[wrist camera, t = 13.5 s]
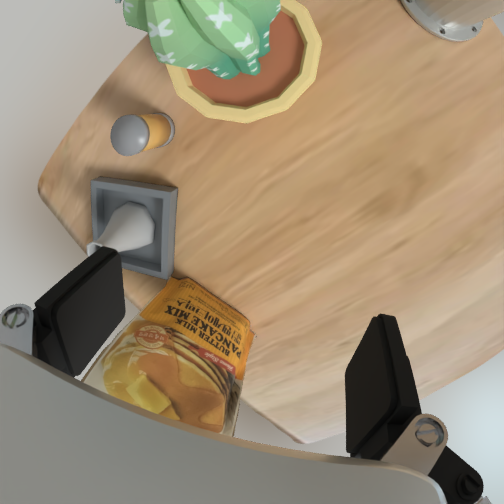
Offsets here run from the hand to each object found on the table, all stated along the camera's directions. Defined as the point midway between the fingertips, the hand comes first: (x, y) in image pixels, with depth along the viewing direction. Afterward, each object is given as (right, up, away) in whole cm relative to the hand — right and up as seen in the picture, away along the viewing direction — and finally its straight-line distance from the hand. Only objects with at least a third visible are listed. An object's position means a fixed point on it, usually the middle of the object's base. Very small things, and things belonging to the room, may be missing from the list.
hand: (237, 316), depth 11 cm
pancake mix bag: (-6, -7, +37) cm, 38 cm away
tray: (-17, +6, +32) cm, 37 cm away
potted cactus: (+1, +25, +21) cm, 32 cm away
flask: (-17, +6, +32) cm, 37 cm away
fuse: (-12, +18, +26) cm, 34 cm away
